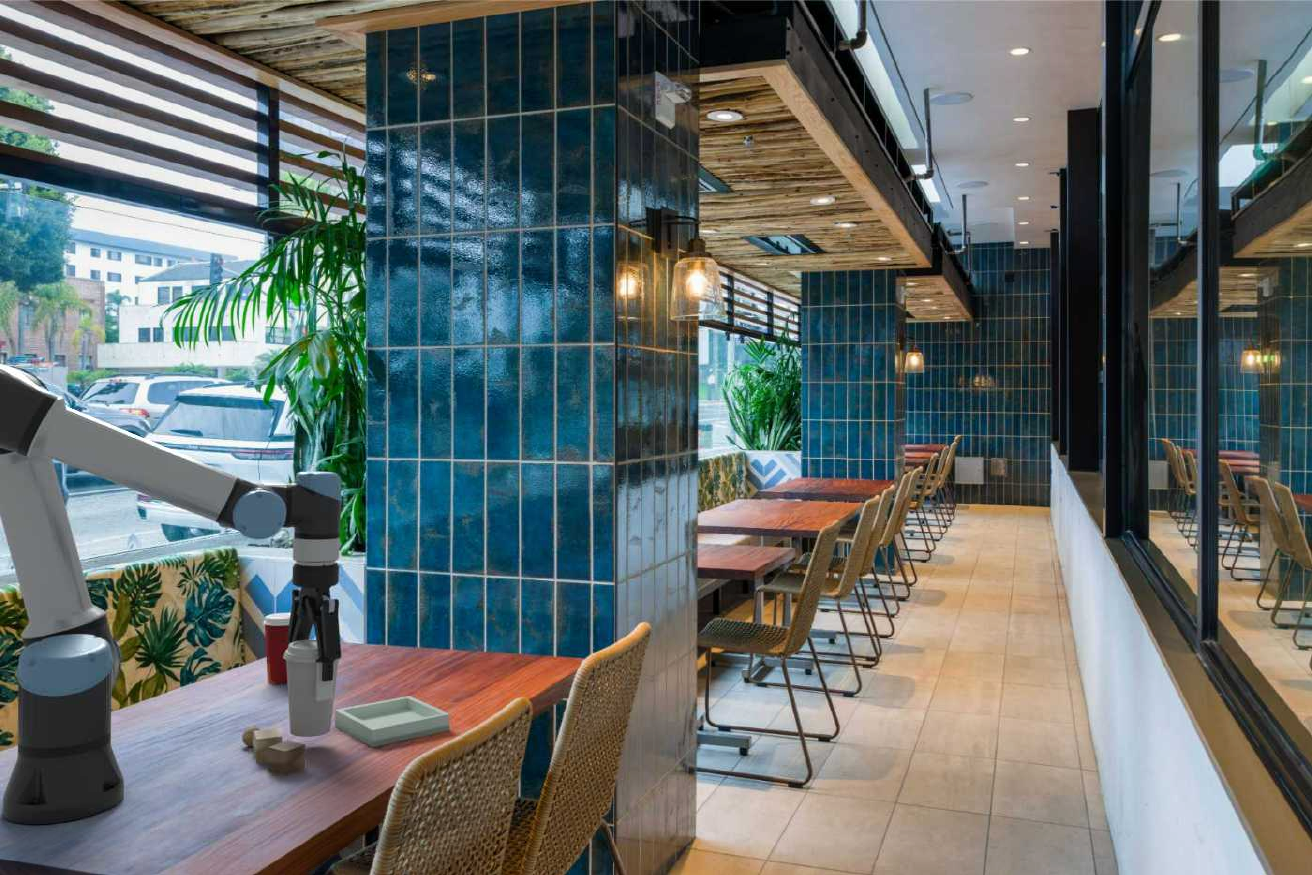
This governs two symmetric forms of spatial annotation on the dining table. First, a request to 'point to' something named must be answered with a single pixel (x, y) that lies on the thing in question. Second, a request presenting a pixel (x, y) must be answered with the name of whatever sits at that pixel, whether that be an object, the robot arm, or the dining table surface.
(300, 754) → the walnut block
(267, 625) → the paper cup
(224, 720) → the dining table surface
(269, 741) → the beech block
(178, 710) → the dining table surface
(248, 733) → the cork ball
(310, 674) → the coffee cup
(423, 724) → the tray
